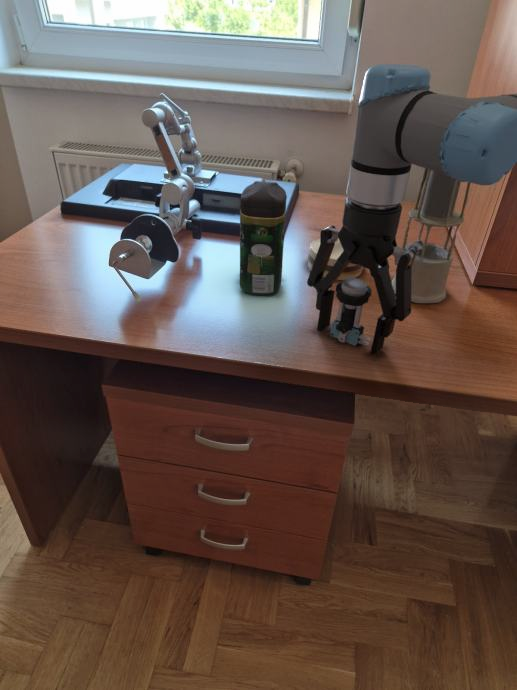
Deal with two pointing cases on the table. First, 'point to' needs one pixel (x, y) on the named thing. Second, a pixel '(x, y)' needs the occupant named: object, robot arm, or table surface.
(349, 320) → the push button
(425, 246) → the lamp
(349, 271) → the wooden yo-yo
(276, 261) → the coffee jar
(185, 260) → the table surface
